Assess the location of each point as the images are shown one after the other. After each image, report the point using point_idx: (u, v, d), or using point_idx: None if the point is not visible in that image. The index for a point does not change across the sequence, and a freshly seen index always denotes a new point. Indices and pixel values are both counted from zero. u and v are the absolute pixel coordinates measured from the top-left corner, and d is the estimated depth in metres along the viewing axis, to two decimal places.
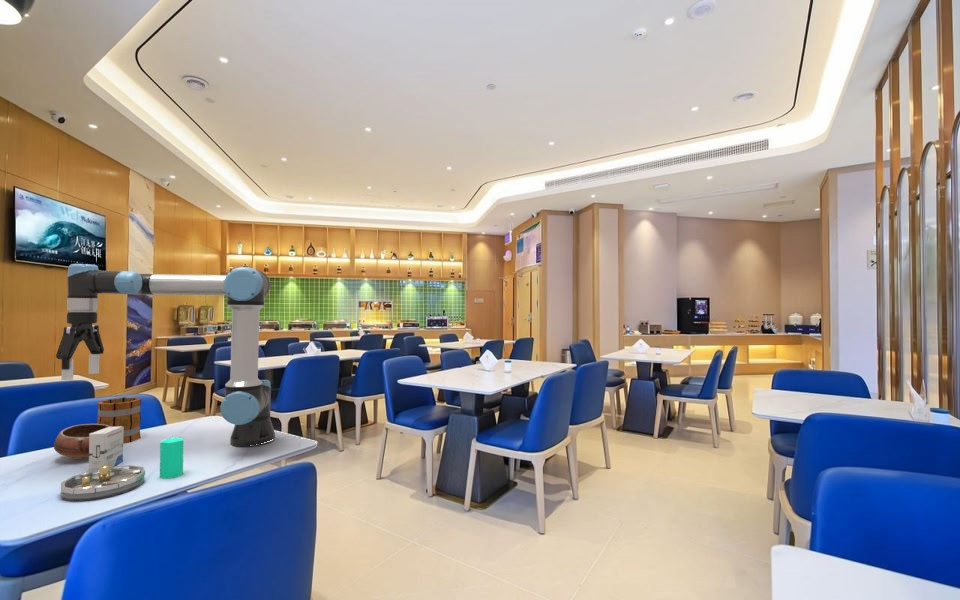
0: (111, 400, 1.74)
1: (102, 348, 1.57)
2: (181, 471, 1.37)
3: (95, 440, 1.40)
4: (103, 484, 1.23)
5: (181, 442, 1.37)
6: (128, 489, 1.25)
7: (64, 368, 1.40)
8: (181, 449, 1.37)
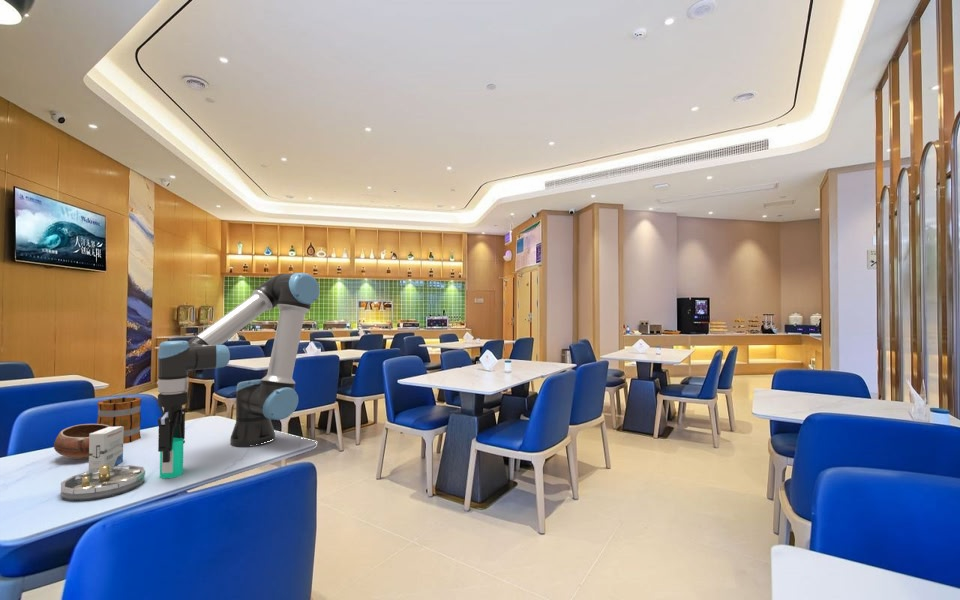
0: (111, 400, 1.74)
1: (183, 436, 1.43)
2: (181, 471, 1.37)
3: (95, 440, 1.40)
4: (103, 484, 1.23)
5: (181, 442, 1.37)
6: (128, 489, 1.25)
7: (165, 461, 1.33)
8: (181, 449, 1.37)
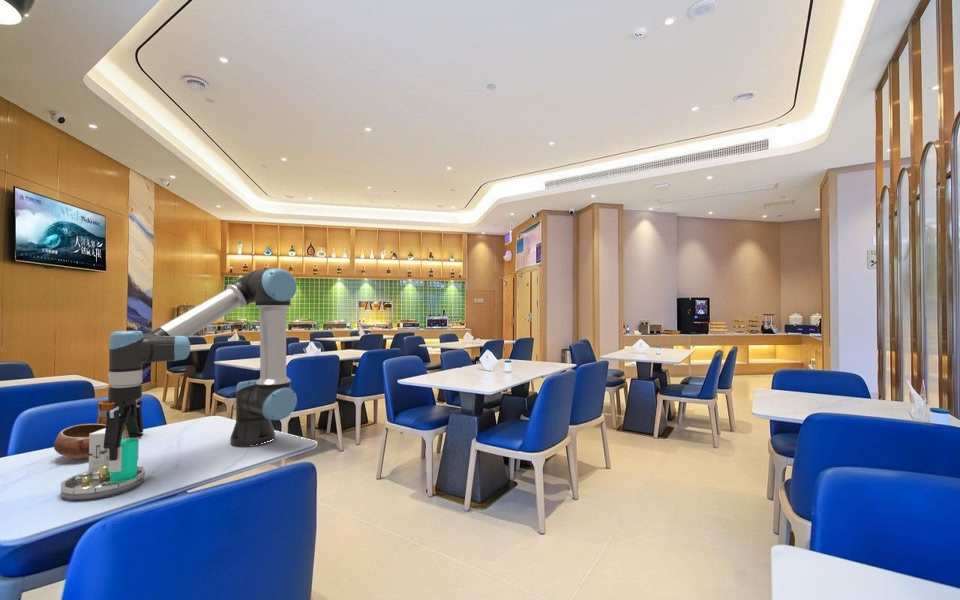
0: None
1: (141, 429, 1.36)
2: (134, 474, 1.29)
3: (95, 440, 1.40)
4: (103, 484, 1.23)
5: (135, 443, 1.29)
6: (128, 489, 1.25)
7: (112, 459, 1.23)
8: (135, 451, 1.29)
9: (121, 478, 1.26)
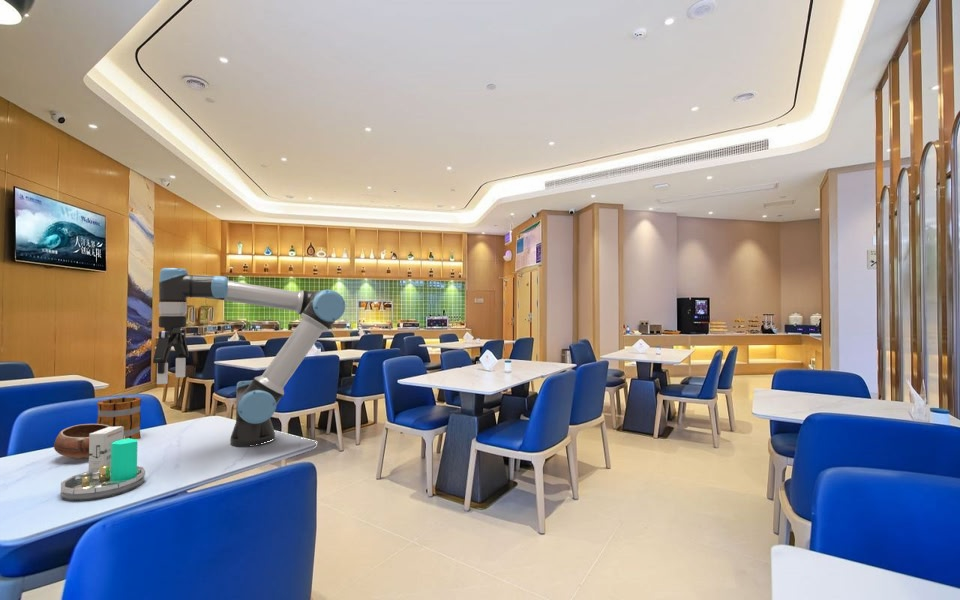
0: (111, 400, 1.74)
1: (187, 352, 1.57)
2: (134, 474, 1.29)
3: (95, 440, 1.40)
4: (103, 484, 1.23)
5: (134, 443, 1.29)
6: (128, 489, 1.25)
7: (160, 372, 1.40)
8: (134, 451, 1.29)
9: (121, 478, 1.26)
